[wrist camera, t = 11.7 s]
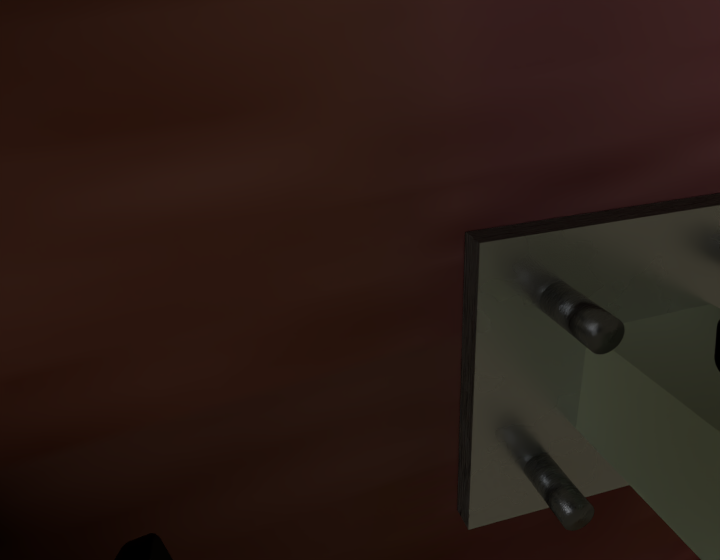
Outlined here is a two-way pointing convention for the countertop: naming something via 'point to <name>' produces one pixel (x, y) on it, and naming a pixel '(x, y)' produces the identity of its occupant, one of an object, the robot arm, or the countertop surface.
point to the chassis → (562, 343)
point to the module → (662, 419)
